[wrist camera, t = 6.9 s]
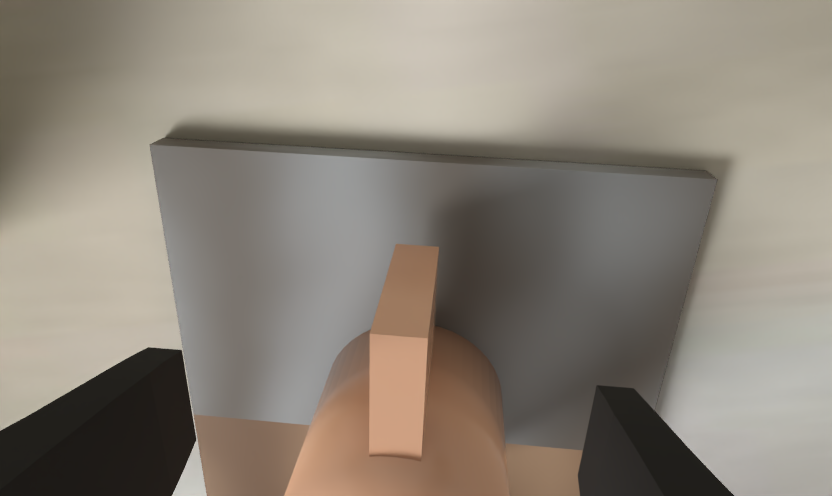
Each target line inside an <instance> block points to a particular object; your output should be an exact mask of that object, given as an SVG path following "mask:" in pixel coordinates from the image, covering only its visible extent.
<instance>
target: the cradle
mask: <svg viewBox="0 0 832 496" xmlns="http://www.w3.org/2000/svg"><path fill="white" fill-rule="evenodd" d="M150 150H151V156H152V163H153V169H154V175H155V181H156V187H157V193H158V199H159V205H160V211H161V218H162V224H163V230H164V236H165V242H166V248H167V254H168V260H169V267H170V273H171V279H172V285H173V291H174V297H175V303H176V309H177V315H178V322H179V328H180V334H181V340H182V346H183V352H184V358H185V364H186V371H187V377H188V383H189V389H190V395H191V401H192V407H193V413H194V419H195V426H196V432H197V438H198V444H199V450H200V456H201V462H202V468H203V475H204V481H205V487H206V493H207V496H284V495H285V492H286V489H287V487H288V484H289V481H290V478H291V476H292V473H293V470H294V468H295V465H296V462H297V459H298V457H299V454H300V451H301V448H302V446H303V443H304V440H305V438H306V435H307V432H308V429H309V427H310V424H311V421H312V418H313V416H314V413H315V410H316V408H317V405H318V402H319V399H320V397H321V394H322V391H323V388H324V386H325V383H326V380H327V378H328V375H329V372H330V370H331V367H332V364H333V362H334V361H335V359H336V357H337V355H338V354H339V353H340V352H341V350H342V349H343V348H344V347H345V346H346V345H347V344H348V343H349V342H351V341H352V340H353V339H355V338H356V337H358V336H359V335H361V334H363V333H365V332H367V331H369V330H371V327H372V324H373V321H374V317H375V314H376V310H377V307H378V304H379V300H380V297H381V293H382V290H383V286H384V283H385V280H386V276H387V273H388V269H389V266H390V262H391V259H392V256H393V252H394V249H395V245H396V244H406V245H420V246H434V247H439V259H438V275H437V292H436V309H435V326H437V327H441V328H444V329H447V330H449V331H452V332H454V333H456V334H458V335H460V336H462V337H464V338H465V339H467V340H468V341H469V342H471V343H472V344H474V345H475V346H476V347H477V348H478V349H479V350H480V351H481V352H482V353H483V354H484V355H485V356H486V357H487V358H488V360H489V361H490V363H491V364H492V366H493V367H494V369H495V371H496V373H497V375H498V378H499V381H500V385H501V391H502V402H503V415H504V429H505V442H506V456H507V469H508V483H509V496H580V491H579V483H578V471H579V466H580V462H581V457H582V452H583V447H584V443H585V438H586V433H587V428H588V424H589V419H590V414H591V409H592V405H593V400H594V395H595V390H596V386H597V385H602V386H614V387H626V388H634V389H635V390H636V391H637V392H638V393H639V394H640V395H641V396H642V398H643V399H644V400H645V401H646V402H647V403H648V404H649V405H650V406H651V407H652V409H653V410H654V411H655V407H656V404H657V400H658V396H659V393H660V389H661V385H662V382H663V378H664V374H665V371H666V367H667V363H668V360H669V356H670V352H671V349H672V345H673V341H674V338H675V334H676V330H677V327H678V323H679V319H680V315H681V312H682V308H683V304H684V301H685V297H686V293H687V290H688V286H689V282H690V279H691V275H692V271H693V268H694V264H695V260H696V257H697V253H698V249H699V246H700V242H701V238H702V235H703V231H704V227H705V224H706V220H707V216H708V213H709V209H710V205H711V202H712V198H713V194H714V191H715V187H716V183H717V180H718V179H716V178H715V177H714V176H712V175H711V174H710V173H709V172H707V171H702V170H685V169H668V168H652V167H635V166H619V165H602V164H586V163H569V162H552V161H536V160H519V159H503V158H486V157H469V156H453V155H436V154H420V153H403V152H386V151H370V150H353V149H337V148H320V147H303V146H287V145H270V144H254V143H237V142H220V141H204V140H187V139H171V138H162V139H160V140H158V141H156V142H154V143H152V144H150Z"/></svg>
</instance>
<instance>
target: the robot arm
mask: <svg viewBox="0 0 832 496" xmlns="http://www.w3.org/2000/svg"><path fill="white" fill-rule="evenodd" d="M195 441H196V435H195V429H194V423H193V417H192V411H191V405H190V398H189V392H188V386H187V380H186V374H185V368H184V361H183V355H182V350H173V349H161V348H149V347H148V348H146V349H144V350H142V351H140V352H138V353H136V354H135V355H133V356H131V357H129V358H127V359H125V360H124V361H122V362H120V363H118V364H117V365H115V366H113V367H111V368H110V369H108V370H106V371H104V372H103V373H101V374H99V375H98V376H96V377H94V378H92V379H91V380H89V381H87V382H86V383H84V384H82V385H80V386H79V387H77V388H75V389H74V390H72V391H70V392H68V393H67V394H65V395H63V396H62V397H60V398H58V399H56V400H55V401H53V402H51V403H49V404H48V405H46V406H44V407H43V408H41V409H39V410H37V411H36V412H34V413H32V414H30V415H29V416H27V417H25V418H23V419H21V420H20V421H18V422H16V423H14V424H12V425H10V426H8V427H7V428H5V429H3V430H1V431H0V496H172V494H173V492H174V490H175V488H176V485H177V483H178V481H179V479H180V477H181V474H182V472H183V470H184V468H185V465H186V463H187V461H188V458H189V456H190V453H191V451H192V449H193V446H194V444H195ZM578 483H579V491H580V496H734V495H733V494H732V493H731V492H730V491H729V490H728V489H727V488H726V487H725V486H724V485H723V484H722V483H721V482H720V481H719V480H718V479H717V478H716V477H715V476H714V475H713V474H712V472H711V471H710V470H709V469H708V468H707V467H706V466H705V465H704V464H703V463H702V462H701V461H700V460H699V459H698V458H697V457H696V456H695V455H694V453H693V452H692V451H691V450H690V449H689V448H688V447H687V446H686V445H685V444H684V443H683V442H682V440H681V439H680V438H679V437H678V436H677V435H676V434H675V433H674V432H673V431H672V430H671V428H670V427H669V426H668V425H667V424H666V423H665V422H664V421H663V420H662V419H661V417H660V416H659V415H658V414H657V413H656V412H655V411H654V410H653V409H652V407H651V406H650V405H649V404H648V403H647V402H646V401H645V400H644V399H643V398H642V396H641V395H640V394H639V393H638V392H637V391H636V390H635V389H634V388H626V387H614V386H602V385H597V386H596V390H595V395H594V400H593V405H592V409H591V414H590V419H589V424H588V428H587V433H586V438H585V443H584V447H583V452H582V457H581V462H580V466H579V471H578Z"/></svg>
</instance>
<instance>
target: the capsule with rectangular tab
mask: <svg viewBox="0 0 832 496" xmlns="http://www.w3.org/2000/svg"><path fill="white" fill-rule="evenodd" d="M438 259H439V247H434V246H420V245H406V244H396V245H395V249H394V252H393V256H392V259H391V262H390V266H389V269H388V273H387V276H386V280H385V283H384V286H383V290H382V293H381V297H380V300H379V304H378V307H377V310H376V314H375V317H374V321H373V324H372V327H371V330H369V331H367V332H365V333H363V334H361V335H359V336H358V337H356V338H355V339H353V340H352V341H351V342H349V343H348V344H347V345H346V346H345V347H344V348H343V349H342V350H341V352H340V353H339V354H338V355H337V357H336V359H335V361H334V362H333V364H332V367H331V370H330V372H329V375H328V378H327V380H326V383H325V386H324V388H323V391H322V394H321V397H320V399H319V402H318V405H317V408H316V410H315V413H314V416H313V418H312V421H311V424H310V427H309V429H308V432H307V435H306V438H305V440H304V443H303V446H302V448H301V451H300V454H299V457H298V459H297V462H296V465H295V468H294V470H293V473H292V476H291V478H290V481H289V484H288V487H287V489H286V492H285V495H284V496H509V483H508V469H507V456H506V442H505V429H504V415H503V402H502V391H501V385H500V381H499V378H498V375H497V373H496V371H495V369H494V367H493V366H492V364H491V363H490V361H489V360H488V358H487V357H486V356H485V355H484V354H483V353H482V352H481V351H480V350H479V349H478V348H477V347H476V346H475V345H474V344H472V343H471V342H469V341H468V340H467V339H465V338H464V337H462V336H460V335H458V334H456V333H454V332H452V331H449V330H447V329H444V328H441V327H437V326H435V309H436V292H437V275H438Z"/></svg>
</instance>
